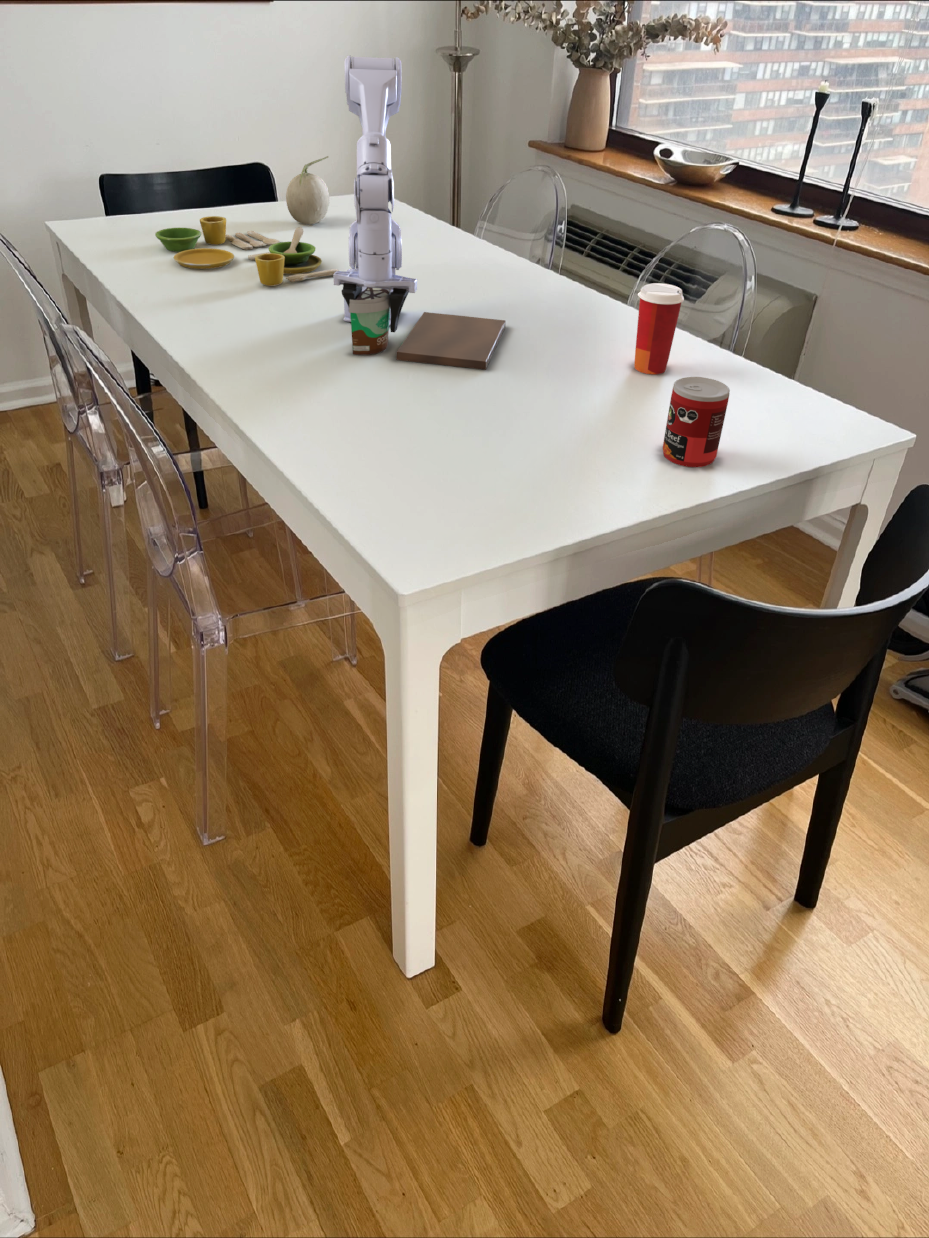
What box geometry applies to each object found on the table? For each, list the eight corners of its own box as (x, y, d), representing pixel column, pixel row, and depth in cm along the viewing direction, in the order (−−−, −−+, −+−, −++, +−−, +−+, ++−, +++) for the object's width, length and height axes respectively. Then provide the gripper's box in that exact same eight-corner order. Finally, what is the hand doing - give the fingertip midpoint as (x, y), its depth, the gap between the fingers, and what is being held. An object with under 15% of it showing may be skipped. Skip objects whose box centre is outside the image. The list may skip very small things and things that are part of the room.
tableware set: (345, 276, 210) (345, 246, 206) (227, 297, 196) (224, 265, 192) (254, 231, 236) (252, 203, 232) (144, 247, 222) (139, 218, 218)
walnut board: (396, 360, 172) (396, 351, 172) (424, 319, 190) (424, 312, 189) (485, 370, 170) (486, 361, 169) (505, 328, 188) (505, 320, 187)
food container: (384, 361, 172) (383, 304, 166) (350, 357, 173) (348, 300, 167) (401, 337, 182) (401, 283, 176) (369, 334, 182) (368, 279, 177)
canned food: (656, 445, 148) (667, 376, 142) (707, 445, 149) (721, 376, 143) (668, 468, 142) (681, 397, 136) (722, 468, 143) (737, 397, 137)
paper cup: (674, 364, 176) (688, 286, 168) (667, 379, 170) (681, 299, 162) (632, 357, 178) (643, 279, 170) (623, 372, 172) (634, 292, 164)
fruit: (281, 228, 240) (276, 161, 231) (295, 216, 249) (291, 152, 240) (322, 231, 238) (319, 165, 230) (335, 220, 248) (332, 155, 239)
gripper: (326, 252, 165) (330, 331, 173) (410, 260, 163) (410, 340, 171) (339, 241, 171) (341, 319, 178) (420, 249, 169) (419, 327, 177)
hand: (375, 328), depth 175 cm, fingers closed on food container, 6 cm apart
